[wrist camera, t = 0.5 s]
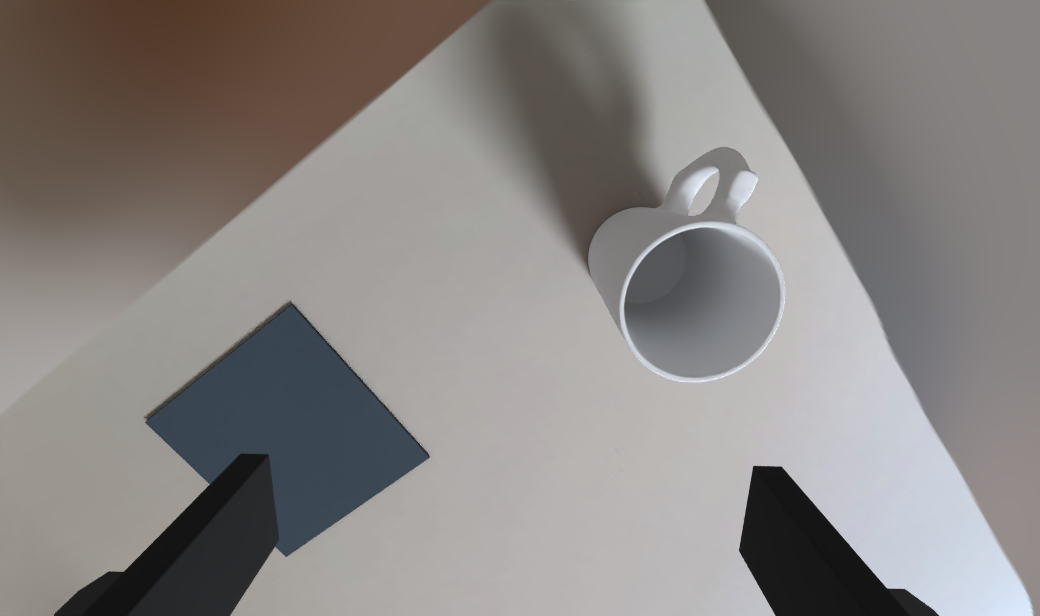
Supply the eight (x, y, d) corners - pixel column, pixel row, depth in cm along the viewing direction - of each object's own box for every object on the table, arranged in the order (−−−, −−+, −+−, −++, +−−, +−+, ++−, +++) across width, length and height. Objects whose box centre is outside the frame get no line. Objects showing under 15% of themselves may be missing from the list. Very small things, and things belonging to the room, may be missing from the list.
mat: (292, 304, 33) (291, 304, 33) (430, 456, 36) (429, 457, 36) (146, 420, 35) (144, 422, 35) (287, 555, 38) (286, 557, 38)
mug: (663, 322, 33) (739, 403, 22) (567, 288, 33) (593, 353, 21) (731, 173, 31) (858, 174, 19) (629, 133, 30) (696, 110, 19)
